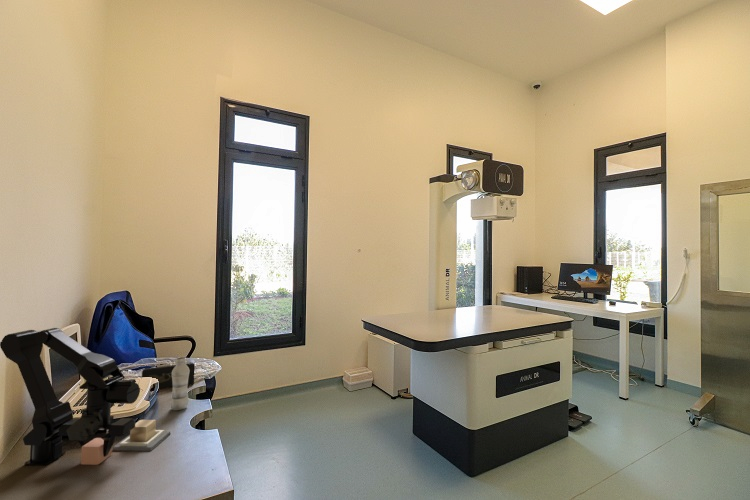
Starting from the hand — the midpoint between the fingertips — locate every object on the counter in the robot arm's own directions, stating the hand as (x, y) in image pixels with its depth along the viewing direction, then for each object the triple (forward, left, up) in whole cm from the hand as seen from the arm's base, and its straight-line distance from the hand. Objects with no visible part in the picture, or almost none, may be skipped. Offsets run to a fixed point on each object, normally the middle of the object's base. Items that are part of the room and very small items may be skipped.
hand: (96, 455), depth 101 cm
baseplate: (+7, +10, -1) cm, 12 cm away
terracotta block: (0, 0, -1) cm, 1 cm away
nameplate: (-13, +58, -2) cm, 59 cm away
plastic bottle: (+5, +35, -1) cm, 35 cm away
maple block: (+7, +10, 0) cm, 12 cm away
